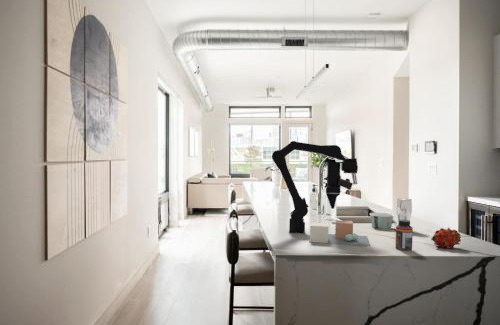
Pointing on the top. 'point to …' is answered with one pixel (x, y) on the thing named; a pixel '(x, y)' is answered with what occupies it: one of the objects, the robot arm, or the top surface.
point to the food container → (381, 220)
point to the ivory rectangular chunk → (319, 232)
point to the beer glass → (404, 209)
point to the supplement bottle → (404, 235)
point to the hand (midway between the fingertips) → (332, 207)
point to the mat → (359, 242)
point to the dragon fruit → (446, 238)
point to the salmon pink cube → (343, 228)
